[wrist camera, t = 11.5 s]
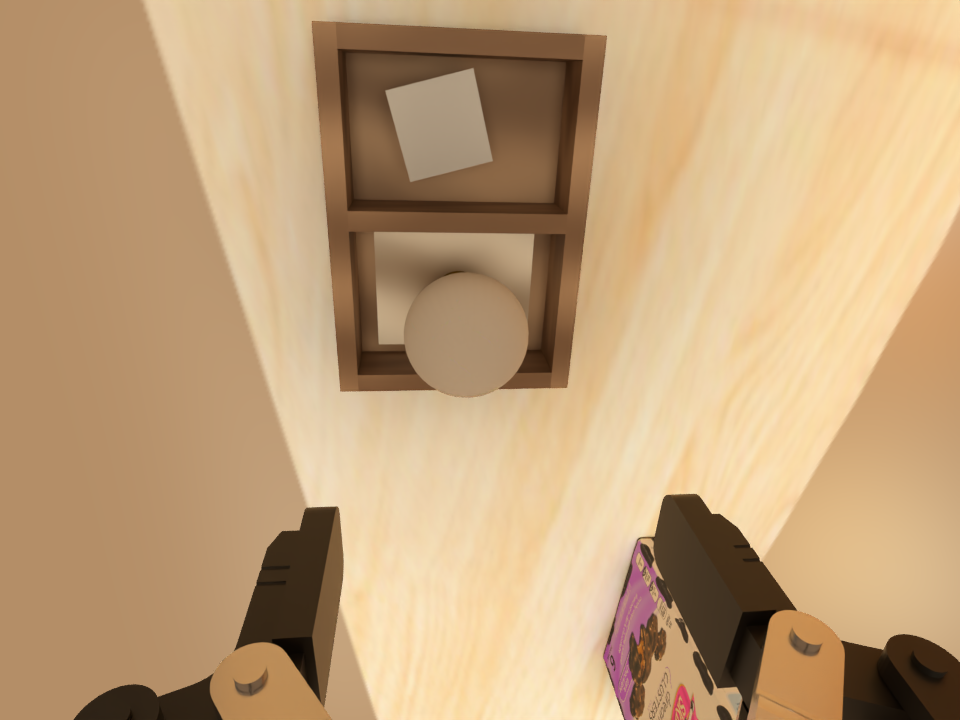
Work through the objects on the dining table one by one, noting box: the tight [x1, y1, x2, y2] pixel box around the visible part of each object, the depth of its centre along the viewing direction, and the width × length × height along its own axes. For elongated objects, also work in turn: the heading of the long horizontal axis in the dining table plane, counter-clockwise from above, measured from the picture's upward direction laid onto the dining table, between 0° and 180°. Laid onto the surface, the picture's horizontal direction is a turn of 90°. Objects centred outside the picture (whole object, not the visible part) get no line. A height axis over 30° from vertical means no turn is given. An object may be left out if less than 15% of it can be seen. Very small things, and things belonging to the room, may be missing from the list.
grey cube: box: [385, 68, 493, 182], centre depth 28 cm, size 4×4×4 cm
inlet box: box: [312, 21, 607, 391], centre depth 31 cm, size 18×13×4 cm
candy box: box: [604, 538, 742, 720], centre depth 41 cm, size 14×6×16 cm, turn 173°
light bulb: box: [404, 271, 529, 397], centre depth 29 cm, size 6×6×10 cm
